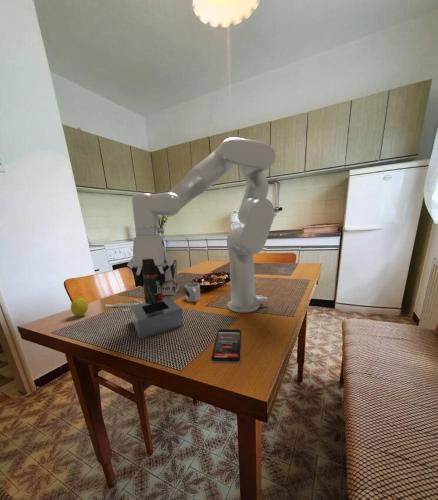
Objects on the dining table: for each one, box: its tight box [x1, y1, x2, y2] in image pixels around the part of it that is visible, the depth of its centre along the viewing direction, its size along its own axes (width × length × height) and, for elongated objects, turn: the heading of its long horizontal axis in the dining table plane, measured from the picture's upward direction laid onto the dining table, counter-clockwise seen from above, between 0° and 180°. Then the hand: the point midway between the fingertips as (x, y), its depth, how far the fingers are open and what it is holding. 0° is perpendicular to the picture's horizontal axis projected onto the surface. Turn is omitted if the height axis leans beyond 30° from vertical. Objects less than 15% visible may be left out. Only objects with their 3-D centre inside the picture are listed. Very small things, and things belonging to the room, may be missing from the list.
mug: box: [184, 282, 201, 303], centre depth 91 cm, size 10×7×7 cm
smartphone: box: [210, 328, 242, 364], centre depth 57 cm, size 7×1×15 cm
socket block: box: [130, 296, 184, 340], centre depth 71 cm, size 14×14×6 cm
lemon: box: [70, 296, 89, 318], centre depth 80 cm, size 6×6×8 cm
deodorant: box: [142, 259, 164, 304], centre depth 69 cm, size 6×6×15 cm
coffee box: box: [162, 259, 179, 296], centre depth 103 cm, size 9×6×16 cm
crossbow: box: [104, 298, 143, 313], centre depth 89 cm, size 16×13×2 cm
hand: (152, 284), depth 69 cm, fingers closed on deodorant, 6 cm apart
